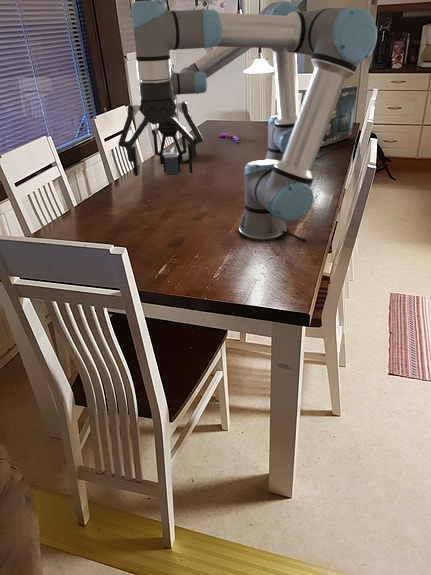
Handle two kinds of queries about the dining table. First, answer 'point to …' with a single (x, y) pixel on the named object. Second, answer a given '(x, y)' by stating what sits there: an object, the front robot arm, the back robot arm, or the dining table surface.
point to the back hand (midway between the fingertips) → (172, 171)
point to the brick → (171, 164)
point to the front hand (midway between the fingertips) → (163, 172)
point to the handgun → (232, 138)
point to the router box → (341, 115)
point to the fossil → (174, 151)
